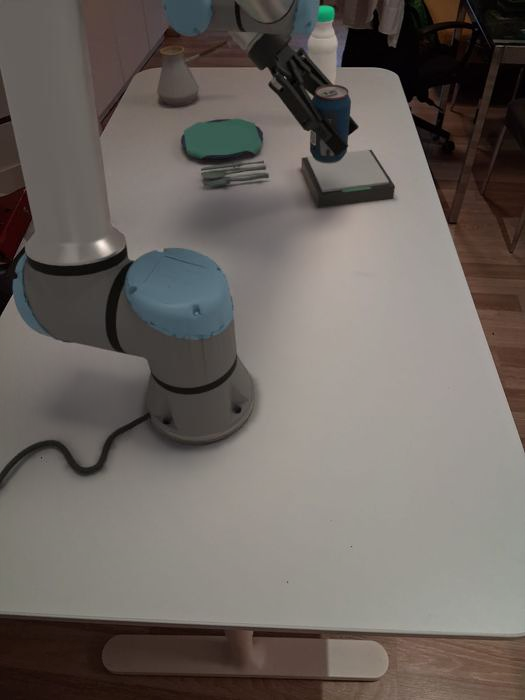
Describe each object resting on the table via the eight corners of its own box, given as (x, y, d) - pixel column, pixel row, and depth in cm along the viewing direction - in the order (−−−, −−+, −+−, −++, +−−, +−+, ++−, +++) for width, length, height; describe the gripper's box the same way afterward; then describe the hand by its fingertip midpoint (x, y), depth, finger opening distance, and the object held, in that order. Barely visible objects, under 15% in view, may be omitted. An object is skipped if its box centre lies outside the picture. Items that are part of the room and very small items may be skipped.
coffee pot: (155, 109, 146) (144, 48, 135) (163, 91, 154) (153, 33, 143) (232, 108, 144) (228, 47, 133) (237, 91, 152) (233, 32, 141)
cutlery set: (256, 122, 138) (256, 113, 136) (278, 181, 118) (278, 171, 116) (179, 131, 136) (178, 122, 135) (187, 192, 116) (186, 182, 114)
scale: (317, 207, 110) (318, 193, 108) (301, 169, 121) (301, 155, 119) (393, 198, 112) (395, 183, 109) (370, 161, 122) (371, 147, 120)
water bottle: (300, 119, 138) (301, 8, 120) (319, 110, 141) (323, 0, 123) (319, 127, 135) (324, 14, 116) (339, 118, 138) (346, 7, 119)
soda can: (335, 144, 105) (339, 80, 96) (353, 160, 100) (359, 94, 92) (303, 152, 103) (305, 87, 94) (319, 168, 99) (323, 102, 90)
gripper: (267, 32, 100) (346, 129, 107) (225, 73, 87) (317, 179, 95) (294, 1, 94) (375, 105, 102) (254, 39, 82) (349, 155, 90)
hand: (347, 141), depth 98 cm, fingers closed on soda can, 7 cm apart
